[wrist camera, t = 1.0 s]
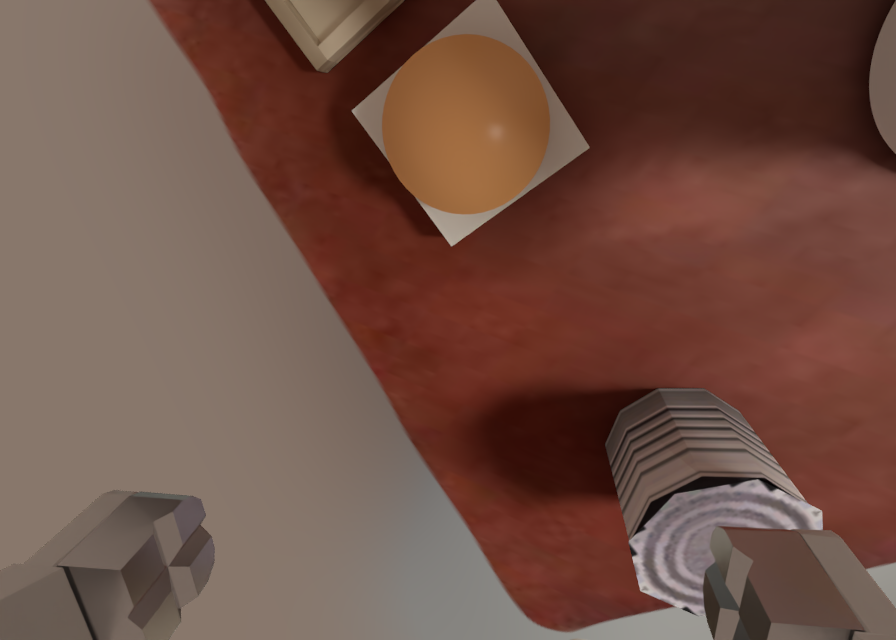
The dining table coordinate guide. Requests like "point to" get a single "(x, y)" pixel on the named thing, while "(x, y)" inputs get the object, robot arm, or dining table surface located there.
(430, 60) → the button
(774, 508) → the can
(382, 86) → the white square base
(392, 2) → the beige soap dish
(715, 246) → the dining table surface
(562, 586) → the dining table surface
